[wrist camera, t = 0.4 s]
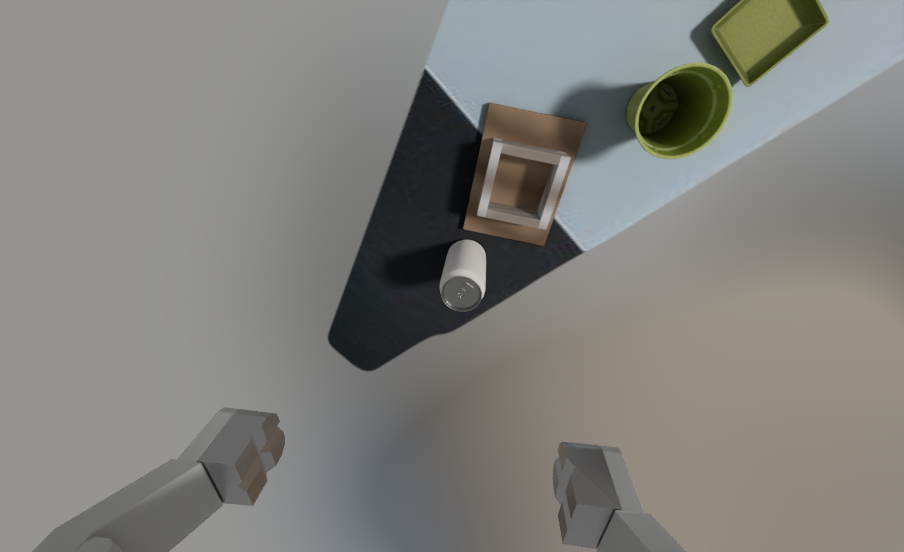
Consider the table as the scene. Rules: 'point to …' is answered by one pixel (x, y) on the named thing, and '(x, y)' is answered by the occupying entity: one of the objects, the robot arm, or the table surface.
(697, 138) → the plant pot
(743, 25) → the saucer
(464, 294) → the can
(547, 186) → the socket board
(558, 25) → the table surface
